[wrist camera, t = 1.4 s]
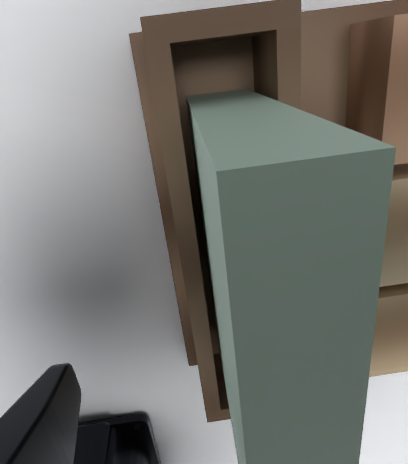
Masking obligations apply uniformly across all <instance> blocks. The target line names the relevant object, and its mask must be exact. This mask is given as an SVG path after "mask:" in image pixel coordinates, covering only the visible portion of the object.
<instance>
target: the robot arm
mask: <svg viewBox="0 0 408 464" xmlns="http://www.w3.org/2000/svg"><path fill="white" fill-rule="evenodd" d="M80 403H81V389H80V386H79V383H78V380H77V378H76V375H75V372H74V370H73V367H72V365H71V364H69V363H64V364H58V365H53V366H51V367H50V368H48V369H47V370H46V371H45V372H44V374H43V375H42V376H41V377H40V378H39V379H38V380H37V381H36V382H35V383H34V384H33V385H32V386H31V387H30V388H29V389H28V390H27V391H26V392H25V393H24V394H23V395H22V396H21V397H20V398H19V399H18V400H17V401H16V402H15V403H14V404H13V405H12V406H11V407H10V408H9V409H8V410H7V411H6V412H5V414H4V415H3V416H2V417H1V418H0V464H161V462H160V458H159V454H158V450H157V447H156V443H155V439H154V436H153V432H152V428H151V425H150V421H149V418H148V417H147V416H146V415H143V414H136V415H130V416H123V417H117V418H110V419H103V420H97V421H90V422H83V423H78V420H79V412H80Z"/></svg>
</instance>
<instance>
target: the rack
mask: <svg viewBox="0 0 408 464" xmlns="http://www.w3.org/2000/svg"><path fill="white" fill-rule="evenodd" d="M400 14H408V0H392V1H384V2H377V3H369V4H361V5H353V6H345V7H337V8H329V9H321V10H313V11H305V12H301V0H274V1H266V2H258V3H250V4H242V5H234V6H226V7H218V8H210V9H202V10H195V11H187V12H179V13H171V14H163V15H155V16H147V17H140V20H141V26H142V32H139V33H131V34H129V37H130V42H131V48H132V53H133V59H134V64H135V70H136V76H137V81H138V87H139V92H140V98H141V103H142V109H143V114H144V120H145V125H146V131H147V136H148V142H149V147H150V153H151V158H152V164H153V169H154V175H155V180H156V186H157V191H158V197H159V202H160V208H161V213H162V219H163V224H164V230H165V236H166V241H167V247H168V252H169V258H170V263H171V269H172V274H173V280H174V285H175V291H176V296H177V302H178V307H179V313H180V318H181V324H182V329H183V335H184V340H185V346H186V351H187V357H188V362H189V366H193V365H198V368H199V374H200V380H201V386H202V392H203V398H204V404H205V410H206V417H207V422H213V421H220V420H226V419H231V416H230V410H229V404H228V398H227V392H226V386H225V380H224V374H223V368H222V362H221V356H220V350H219V344H218V338H217V331H216V324H215V317H214V309H213V301H212V293H211V286H210V278H209V270H208V262H207V255H206V247H205V239H204V231H203V224H202V216H201V208H200V200H199V192H198V185H197V177H196V169H195V161H194V154H193V146H192V138H191V130H190V123H189V115H188V107H187V99H186V96H191V95H198V94H206V93H214V92H221V91H229V90H237V89H244V88H246V89H248V90H251V91H253V92H256V93H259V94H261V95H264V96H266V97H269V98H271V99H274V100H277V101H279V102H282V103H284V104H287V105H289V106H292V107H295V108H297V109H300V110H302V111H305V112H307V113H310V114H313V115H315V116H318V117H320V118H323V119H325V120H328V121H331V122H333V123H336V124H338V125H341V126H343V127H345V123H346V105H347V87H348V69H349V51H350V33H351V24H353V23H358V22H363V21H368V20H373V19H378V18H383V17H388V16H393V15H400Z"/></svg>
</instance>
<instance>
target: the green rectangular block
mask: <svg viewBox="0 0 408 464" xmlns="http://www.w3.org/2000/svg"><path fill="white" fill-rule="evenodd" d="M186 99H187V107H188V115H189V123H190V130H191V138H192V146H193V154H194V161H195V169H196V177H197V185H198V192H199V200H200V208H201V216H202V224H203V231H204V239H205V247H206V255H207V262H208V270H209V278H210V286H211V293H212V301H213V309H214V317H215V324H216V331H217V338H218V344H219V350H220V356H221V362H222V368H223V374H224V380H225V386H226V392H227V398H228V404H229V410H230V416H231V422H232V428H233V434H234V440H235V446H236V452H237V458H238V464H359V456H360V448H361V439H362V431H363V422H364V414H365V406H366V397H367V389H368V380H369V372H370V363H371V355H372V346H373V338H374V330H375V321H376V313H377V304H378V296H379V287H380V279H381V270H382V262H383V253H384V245H385V237H386V228H387V220H388V211H389V203H390V194H391V186H392V177H393V169H394V161H395V152H396V147H395V146H392V145H390V144H387V143H384V142H382V141H379V140H377V139H374V138H372V137H369V136H366V135H364V134H361V133H359V132H356V131H354V130H351V129H349V128H346V127H343V126H341V125H338V124H336V123H333V122H331V121H328V120H325V119H323V118H320V117H318V116H315V115H313V114H310V113H307V112H305V111H302V110H300V109H297V108H295V107H292V106H289V105H287V104H284V103H282V102H279V101H277V100H274V99H271V98H269V97H266V96H264V95H261V94H259V93H256V92H253V91H251V90H248V89H246V88H244V89H237V90H229V91H221V92H214V93H206V94H198V95H191V96H186Z"/></svg>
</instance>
